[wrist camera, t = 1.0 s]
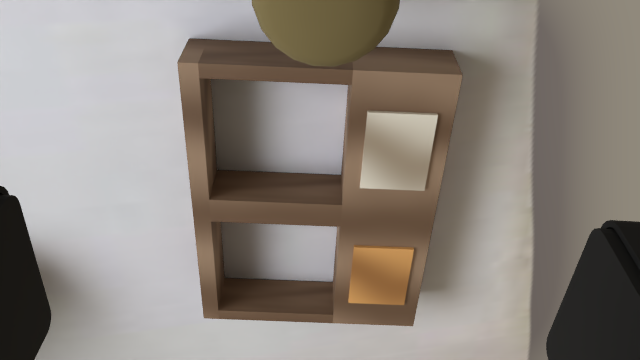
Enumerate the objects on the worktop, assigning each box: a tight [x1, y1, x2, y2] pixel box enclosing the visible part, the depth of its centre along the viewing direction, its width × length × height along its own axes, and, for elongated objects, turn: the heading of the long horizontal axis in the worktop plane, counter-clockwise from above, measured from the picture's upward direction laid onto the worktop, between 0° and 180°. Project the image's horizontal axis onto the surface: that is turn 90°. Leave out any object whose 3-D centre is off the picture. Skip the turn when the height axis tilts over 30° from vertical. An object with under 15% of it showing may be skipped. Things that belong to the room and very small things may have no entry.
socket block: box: [177, 39, 463, 326], centre depth 36 cm, size 18×14×3 cm
